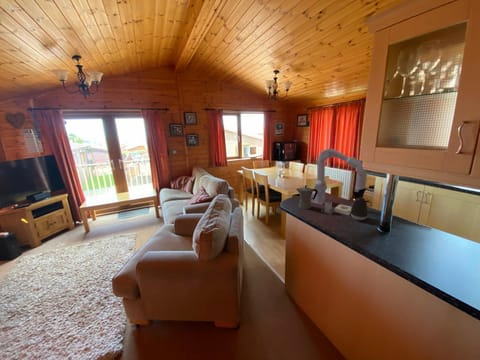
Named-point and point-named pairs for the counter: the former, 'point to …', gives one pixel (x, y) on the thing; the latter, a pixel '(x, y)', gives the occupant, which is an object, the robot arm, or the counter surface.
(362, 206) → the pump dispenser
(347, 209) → the port
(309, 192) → the coffeepot
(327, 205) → the plug
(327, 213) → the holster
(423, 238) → the counter surface
